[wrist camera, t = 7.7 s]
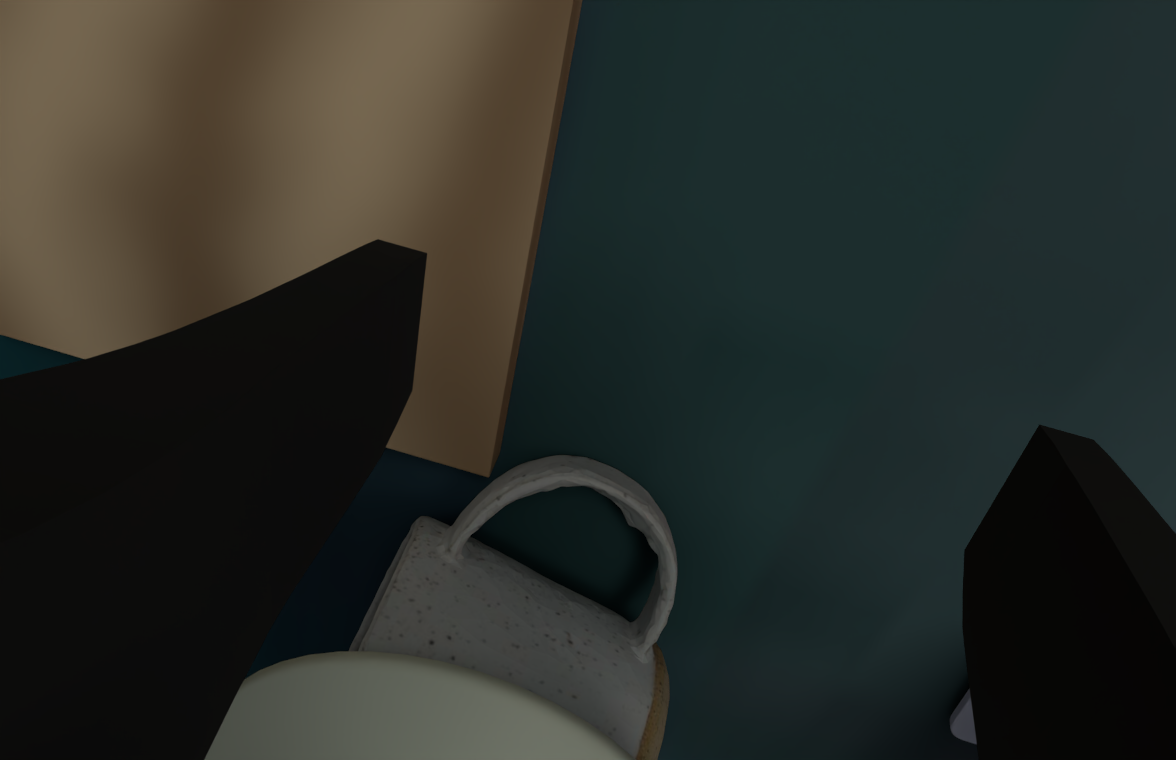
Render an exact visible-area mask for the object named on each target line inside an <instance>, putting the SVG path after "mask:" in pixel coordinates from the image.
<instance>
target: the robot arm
mask: <svg viewBox="0 0 1176 760" xmlns="http://www.w3.org/2000/svg"><path fill="white" fill-rule="evenodd" d="M426 260H427V253H425V252H422V251H418V250H415V249H411V248H408V247H404V246H400V245H397V244H393V243H390V242H386V241H383V240H379V239H377V240H375V241H372V242H370V243H367V244H365V245H363V246H361V247H359V248H357V249H354V250H352V251H350V252H348V253H346V254H344V255H342V256H340V257H338V258H336V259H334V260H332V261H330V262H328V263H326V264H324V265H322V266H320V267H318V268H316V269H313V270H311V271H309V272H307V273H305V274H303V275H301V276H299V277H297V278H295V279H293V280H290V281H288V282H286V283H284V284H282V285H280V286H278V287H276V288H273V289H271V290H269V291H267V292H265V293H263V294H261V295H258V296H256V297H254V298H252V299H250V300H247V301H245V302H243V303H240V304H238V305H235V306H233V307H230V308H228V309H225V310H223V311H221V312H218V313H216V314H213V315H211V316H208V317H206V318H203V319H201V320H199V321H196V322H194V323H191V324H189V325H186V326H184V327H181V328H179V329H177V330H174V331H171V332H168V333H166V334H163V335H160V336H157V337H154V338H151V339H148V340H145V341H142V342H140V343H137V344H134V345H130V346H127V347H124V348H121V349H117V350H114V351H111V352H107V353H104V354H101V355H98V356H94V357H91V358H88V359H84V360H80V361H77V362H73V363H69V364H65V365H61V366H57V367H52V368H48V369H44V370H39V371H35V372H31V373H26V374H22V375H18V376H13V377H9V378H5V379H0V760H204V759H205V757H206V755H207V753H208V751H209V749H210V747H211V745H212V743H213V741H214V739H215V737H216V735H217V733H218V731H219V729H220V727H221V725H222V723H223V720H224V718H225V716H226V714H227V712H228V710H229V708H230V706H231V704H232V702H233V700H234V698H235V696H236V694H237V692H238V690H239V688H240V686H241V684H242V683H243V681H244V679H245V677H246V675H247V673H248V671H249V669H250V667H251V665H252V663H253V661H254V659H255V657H256V655H257V653H258V651H259V650H260V648H261V646H262V644H263V642H264V640H265V638H266V636H267V634H268V632H269V630H270V628H271V626H272V625H273V623H274V621H275V620H276V618H277V616H278V615H279V613H280V611H281V610H282V608H283V606H284V605H285V603H286V601H287V600H288V598H289V596H290V595H291V593H292V592H293V590H294V589H295V587H296V586H297V584H298V582H299V581H300V579H301V578H302V576H303V575H304V573H305V572H306V570H307V569H308V567H309V566H310V564H311V563H312V561H313V560H314V558H315V557H316V555H317V554H318V552H319V551H320V549H321V548H322V546H323V545H324V543H325V542H326V540H327V539H328V537H329V536H330V534H331V533H332V531H333V530H334V528H335V527H336V525H337V524H338V522H339V521H340V519H341V518H342V516H343V515H344V513H345V512H346V510H347V509H348V507H349V505H350V504H351V502H352V501H353V499H354V498H355V496H356V495H357V493H358V492H359V490H360V489H361V487H362V486H363V484H364V482H365V481H366V479H367V478H368V476H369V475H370V473H371V472H372V470H373V469H374V467H375V465H376V464H377V462H378V461H379V459H380V458H381V456H382V454H383V452H384V450H385V448H386V446H387V444H388V442H389V439H390V437H391V435H392V433H393V431H394V429H395V427H396V425H397V423H398V421H399V419H400V416H401V414H402V412H403V410H404V408H405V406H406V403H407V401H408V399H409V397H410V395H411V393H412V390H413V381H414V372H415V363H416V353H417V344H418V335H419V325H420V316H421V307H422V298H423V288H424V279H425V270H426ZM963 636H964V646H965V655H966V663H967V671H968V680H969V690H968V691H967V693H966V694H965V696H964V697H963V699H962V700H961V701H960V703H959V704H958V706H957V707H956V709H955V710H954V712H953V713H952V715H951V717H950V729H951V732H952V734H953V735H954V736H955V737H957V738H959V739H961V740H964V741H967V742H970V743H974V744H977V750H978V757H979V760H1176V534H1175V532H1174V531H1173V530H1172V529H1171V528H1170V527H1169V525H1168V524H1167V523H1166V522H1165V521H1164V519H1163V518H1162V517H1161V516H1160V515H1159V513H1158V512H1157V511H1156V510H1155V509H1154V507H1153V506H1152V505H1151V504H1150V503H1149V501H1148V500H1147V499H1146V498H1145V497H1144V495H1143V494H1142V493H1141V492H1140V491H1139V489H1138V488H1137V487H1136V486H1135V485H1134V484H1133V482H1132V481H1131V480H1130V479H1129V478H1128V477H1127V475H1126V474H1125V473H1124V472H1123V471H1122V470H1121V468H1120V467H1119V466H1118V465H1117V464H1116V463H1115V462H1114V460H1113V459H1112V458H1111V457H1110V456H1109V455H1108V454H1107V453H1106V452H1105V451H1104V450H1103V449H1102V448H1101V447H1100V446H1099V445H1098V444H1097V443H1096V442H1095V441H1094V440H1092V439H1089V438H1085V437H1082V436H1078V435H1074V434H1071V433H1067V432H1064V431H1060V430H1057V429H1053V428H1049V427H1046V426H1042V425H1039V426H1038V428H1037V430H1036V431H1035V433H1034V435H1033V436H1032V438H1031V440H1030V441H1029V443H1028V445H1027V446H1026V448H1025V450H1024V451H1023V453H1022V455H1021V456H1020V458H1019V460H1018V461H1017V463H1016V465H1015V466H1014V468H1013V470H1012V471H1011V473H1010V475H1009V476H1008V478H1007V480H1006V482H1005V483H1004V485H1003V487H1002V488H1001V490H1000V492H999V493H998V495H997V497H996V498H995V500H994V502H993V503H992V505H991V507H990V508H989V510H988V512H987V513H986V515H985V517H984V518H983V520H982V522H981V523H980V525H979V527H978V528H977V530H976V532H975V533H974V535H973V537H972V539H971V540H970V542H969V544H968V545H967V547H966V549H965V553H964V577H963Z"/></svg>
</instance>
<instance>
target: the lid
mask: <svg viewBox="0 0 1176 760" xmlns="http://www.w3.org/2000/svg"><path fill="white" fill-rule="evenodd" d="M204 760H636V759H635V758H634V757H632V756H631V755H630V754H629V753H628V752H627V751H625V750H624V749H623V748H622V747H621V746H619V745H618V744H617V743H616V742H615V741H614V740H612V739H611V738H610V737H608V736H607V735H605V734H604V733H602V732H601V731H600V730H598V729H597V728H595V727H594V726H592V725H591V724H589V723H588V722H587V721H585V720H584V719H582V718H580V717H579V716H577V715H575V714H573V713H572V712H570V711H568V710H566V709H564V708H563V707H561V706H559V705H557V704H556V703H554V702H552V701H550V700H548V699H546V698H544V697H542V696H539V695H537V694H535V693H533V692H531V691H529V690H526V689H524V688H522V687H520V686H518V685H515V684H513V683H510V682H507V681H504V680H502V679H499V678H496V677H493V676H491V675H488V674H485V673H482V672H480V671H476V670H472V669H469V668H465V667H461V666H458V665H454V664H450V663H447V662H443V661H438V660H432V659H427V658H422V657H416V656H411V655H404V654H394V653H383V652H373V651H339V652H330V653H321V654H312V655H306V656H302V657H298V658H294V659H289V660H285V661H282V662H279V663H277V664H274V665H272V666H269V667H267V668H264V669H262V670H259V671H258V672H256V673H254V674H253V675H251V676H250V677H248V678H246V679H245V680H244V681H243V683H242V684H241V686H240V688H239V690H238V692H237V694H236V696H235V698H234V700H233V702H232V704H231V706H230V708H229V710H228V712H227V714H226V716H225V718H224V720H223V723H222V725H221V727H220V729H219V731H218V733H217V735H216V737H215V739H214V741H213V743H212V745H211V747H210V749H209V751H208V753H207V755H206V757H205V759H204Z"/></svg>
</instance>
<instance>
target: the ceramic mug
mask: <svg viewBox="0 0 1176 760" xmlns="http://www.w3.org/2000/svg"><path fill="white" fill-rule="evenodd" d="M561 486H565V487H571V486H586V487H590V488H592V489H594V490H595V491H597V492H599V493H601V494H602V495H604V496H606V497H608V498H609V499H611V500H612V501H613V502H614V503H615V504H616V505H617V506H618V507H619V508H621V510H622V512H623V514H624V516H625V518H626V520H627V523H628V525H630V526H633V527H636V528H637V529H639V530H640V531H641V532H643V533H644V535H645V536H646V538H647V541H648V543H649V545H650V546H651V548H652V549H653V550H654V551H655V553H656V554H657V555H658V561H659V564H658V569H657V571H656V574H655V583H654V585H653V587H652V590H651V592H650V595H649V598H648V601H647V603H646V605H645V606H644V608H643V610H642V612H641V614H640V615H639V617H638V618H637V619H636V620H635V621H634V622H629V621H627V620H626V619H625V618H624V617H622V616H620V615H619V614H617V613H616V612H614V611H612V610H610V609H608V608H606V607H604V606H602V605H600V604H598V603H597V602H595V601H593V600H591V599H588V598H586V597H584V596H582V595H580V594H578V593H576V592H574V591H572V590H570V589H568V588H566V587H564V586H562V585H559V584H557V583H555V582H553V581H552V580H550V579H548V578H546V577H544V576H542V575H540V574H539V573H537V572H535V571H533V570H532V569H530V568H528V567H527V566H525V565H523V564H521V563H519V562H517V561H516V560H514V559H512V558H510V557H508V556H506V555H504V554H503V553H501V552H499V551H497V550H495V549H493V548H491V547H489V546H487V545H485V544H483V543H481V542H480V541H478V540H476V539H474V538H472V537H470V536H471V535H472V534H473V533H474V532H476V531H477V530H478V529H479V528H480V527H481V526H482V525H483V524H484V523H485V522H486V521H487V520H489V519H490V518H491V517H492V516H493V515H495V514H496V513H497V512H498V511H500V510H501V509H502V508H503V507H504V506H506V505H508V504H509V503H511V502H513V501H515V500H517V499H520V498H523V497H526V496H529V495H532V494H535V493H538V492H540V491H550V490H553V489H556V488H558V487H561ZM676 581H677V557H676V549H675V545H674V542H673V538H672V534H671V531H670V528H669V526H668V523H667V521H666V518H665V516H664V514H663V513H662V511H661V510H660V508H659V507H658V505H657V504H656V502H655V501H654V500H653V498H652V497H651V496H650V494H649V493H648V492H647V491H646V490H645V489H644V488H643V487H642V486H640V485H639V484H638V483H637V482H635V481H634V480H632V479H631V478H629V477H628V476H626V475H625V474H623V473H622V472H620V471H619V470H617V469H615V468H613V467H611V466H608V465H606V464H603V463H601V462H598V461H595V460H593V459H590V458H587V457H579V456H570V455H556V456H549V457H545V458H541V459H537V460H533V461H529V462H525V463H523V464H520V465H518V466H516V467H514V468H512V469H510V470H509V471H507V472H506V473H504V474H503V475H501V476H500V477H498V478H497V479H495V480H494V481H493V482H491V483H490V484H489V485H488V486H487V487H486V488H485V489H483V490H482V491H481V492H480V493H479V494H478V495H477V496H476V497H475V498H474V499H473V500H472V502H471V503H470V504H469V505H468V506H467V507H466V508H465V509H464V510H463V511H462V512H461V513H460V515H459V516H458V518H457V519H456V521H455V522H454V524H453V525H452V526H449V525H447V524H445V523H442V522H440V521H438V520H436V519H433V518H431V517H428V516H420V517H419V518H418V519H417V520H416V521H415V522H414V523H413V524H412V526H411V529H410V531H409V533H408V535H407V536H406V538H405V539H404V541H403V542H402V544H401V546H400V548H399V550H398V552H397V554H396V556H395V558H394V560H393V562H392V564H391V566H390V567H389V569H388V570H387V572H386V575H385V578H384V580H383V582H382V583H381V585H380V587H379V589H378V591H377V594H376V596H375V598H374V600H373V602H372V604H371V606H370V608H369V610H368V612H367V614H366V616H365V618H364V620H363V622H362V624H361V627H360V629H359V631H358V633H357V635H356V636H355V638H354V640H353V642H352V644H351V646H350V649H349V651H373V652H383V653H394V654H404V655H411V656H416V657H422V658H427V659H432V660H438V661H443V662H447V663H450V664H454V665H458V666H461V667H465V668H469V669H472V670H476V671H480V672H482V673H485V674H488V675H491V676H493V677H496V678H499V679H502V680H504V681H507V682H510V683H513V684H515V685H518V686H520V687H522V688H524V689H526V690H529V691H531V692H533V693H535V694H537V695H539V696H542V697H544V698H546V699H548V700H550V701H552V702H554V703H556V704H557V705H559V706H561V707H563V708H564V709H566V710H568V711H570V712H572V713H573V714H575V715H577V716H579V717H580V718H582V719H584V720H585V721H587V722H588V723H589V724H591V725H592V726H594V727H595V728H597V729H598V730H600V731H601V732H602V733H604V734H605V735H607V736H608V737H610V738H611V739H612V740H614V741H615V742H616V743H617V744H618V745H619V746H621V747H622V748H623V749H624V750H625V751H627V752H628V753H629V754H630V755H631V756H632V757H634V758H635V759H636V760H657V758H658V755H659V751H660V747H661V744H662V740H663V735H664V729H665V723H666V718H667V712H668V705H669V676H668V672H667V668H666V665H665V661H664V658H663V655H662V651H661V649H660V648H659V646H658V645H657V643H656V641H657V640H658V638H659V635H660V633H661V631H662V630H663V628H664V627H665V626H666V624H667V620H668V616H669V613H670V611H671V609H672V606H673V603H674V596H675V588H676Z"/></svg>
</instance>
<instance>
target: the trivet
mask: <svg viewBox="0 0 1176 760" xmlns="http://www.w3.org/2000/svg"><path fill="white" fill-rule="evenodd" d="M581 5H582V0H0V334H1V335H4V336H8V337H11V338H14V339H18V340H21V341H25V342H28V343H31V344H35V345H38V346H42V347H45V348H48V349H52V350H55V351H59V352H62V353H66V354H69V355H72V356H76V357H79V358H83V359H88V358H91V357H94V356H98V355H101V354H104V353H107V352H111V351H114V350H117V349H121V348H124V347H127V346H130V345H134V344H137V343H140V342H142V341H145V340H148V339H151V338H154V337H157V336H160V335H163V334H166V333H168V332H171V331H174V330H177V329H179V328H181V327H184V326H186V325H189V324H191V323H194V322H196V321H199V320H201V319H203V318H206V317H208V316H211V315H213V314H216V313H218V312H221V311H223V310H225V309H228V308H230V307H233V306H235V305H238V304H240V303H243V302H245V301H247V300H250V299H252V298H254V297H256V296H258V295H261V294H263V293H265V292H267V291H269V290H271V289H273V288H276V287H278V286H280V285H282V284H284V283H286V282H288V281H290V280H293V279H295V278H297V277H299V276H301V275H303V274H305V273H307V272H309V271H311V270H313V269H316V268H318V267H320V266H322V265H324V264H326V263H328V262H330V261H332V260H334V259H336V258H338V257H340V256H342V255H344V254H346V253H348V252H350V251H352V250H354V249H357V248H359V247H361V246H363V245H365V244H367V243H370V242H372V241H375V240H377V239H379V240H383V241H386V242H390V243H393V244H397V245H400V246H404V247H408V248H411V249H415V250H418V251H422V252H425V253H427V260H426V270H425V279H424V288H423V298H422V307H421V316H420V325H419V335H418V344H417V353H416V363H415V372H414V381H413V390H412V393H411V395H410V397H409V399H408V401H407V403H406V406H405V408H404V410H403V412H402V414H401V416H400V419H399V421H398V423H397V425H396V427H395V429H394V431H393V433H392V435H391V437H390V439H389V442H388V444H387V446H386V448H390V449H393V450H397V451H400V452H403V453H407V454H410V455H414V456H417V457H421V458H424V459H427V460H431V461H434V462H438V463H441V464H444V465H448V466H451V467H455V468H458V469H462V470H465V471H468V472H472V473H475V474H479V475H482V476H485V477H489V476H490V474H491V472H492V469H493V467H494V465H495V463H496V461H497V458H498V456H499V454H500V449H501V444H502V438H503V433H504V427H505V422H506V416H507V411H508V405H509V400H510V394H511V389H512V383H513V378H514V372H515V367H516V361H517V356H518V350H519V345H520V339H521V334H522V328H523V323H524V317H525V312H526V306H527V301H528V295H529V290H530V284H531V279H532V273H533V268H534V262H535V257H536V252H537V246H538V241H539V235H540V230H541V224H542V219H543V213H544V208H545V202H546V197H547V191H548V186H549V180H550V175H551V169H552V164H553V158H554V153H555V147H556V142H557V136H558V131H559V125H560V120H561V114H562V109H563V103H564V98H565V92H566V87H567V81H568V76H569V70H570V65H571V60H572V54H573V49H574V43H575V38H576V32H577V27H578V21H579V16H580V10H581Z"/></svg>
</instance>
